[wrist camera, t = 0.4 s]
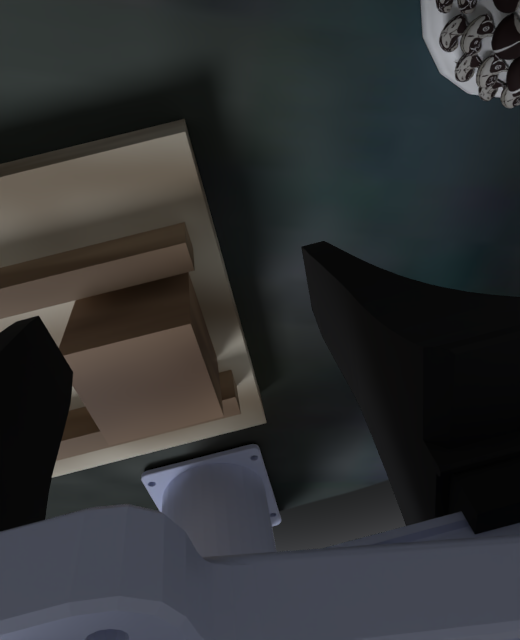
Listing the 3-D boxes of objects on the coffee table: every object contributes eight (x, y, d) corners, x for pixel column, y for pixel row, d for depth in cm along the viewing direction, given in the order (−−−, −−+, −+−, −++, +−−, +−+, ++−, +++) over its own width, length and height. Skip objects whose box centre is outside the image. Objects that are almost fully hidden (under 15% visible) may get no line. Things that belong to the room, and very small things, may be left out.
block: (216, 357, 22) (223, 416, 19) (119, 382, 22) (109, 445, 19) (188, 271, 19) (190, 323, 16) (75, 299, 19) (55, 357, 16)
